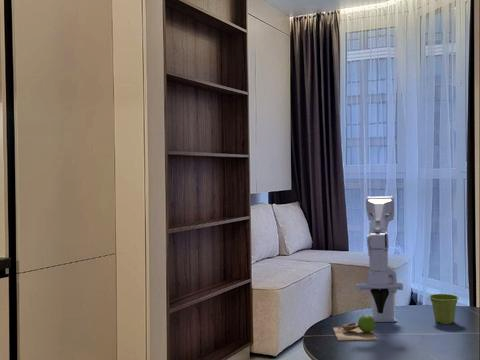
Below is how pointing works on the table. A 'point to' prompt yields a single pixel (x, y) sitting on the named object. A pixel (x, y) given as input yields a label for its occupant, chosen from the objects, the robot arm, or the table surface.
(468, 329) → the table surface
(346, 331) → the cork mat
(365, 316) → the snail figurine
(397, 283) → the robot arm
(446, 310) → the plant pot
